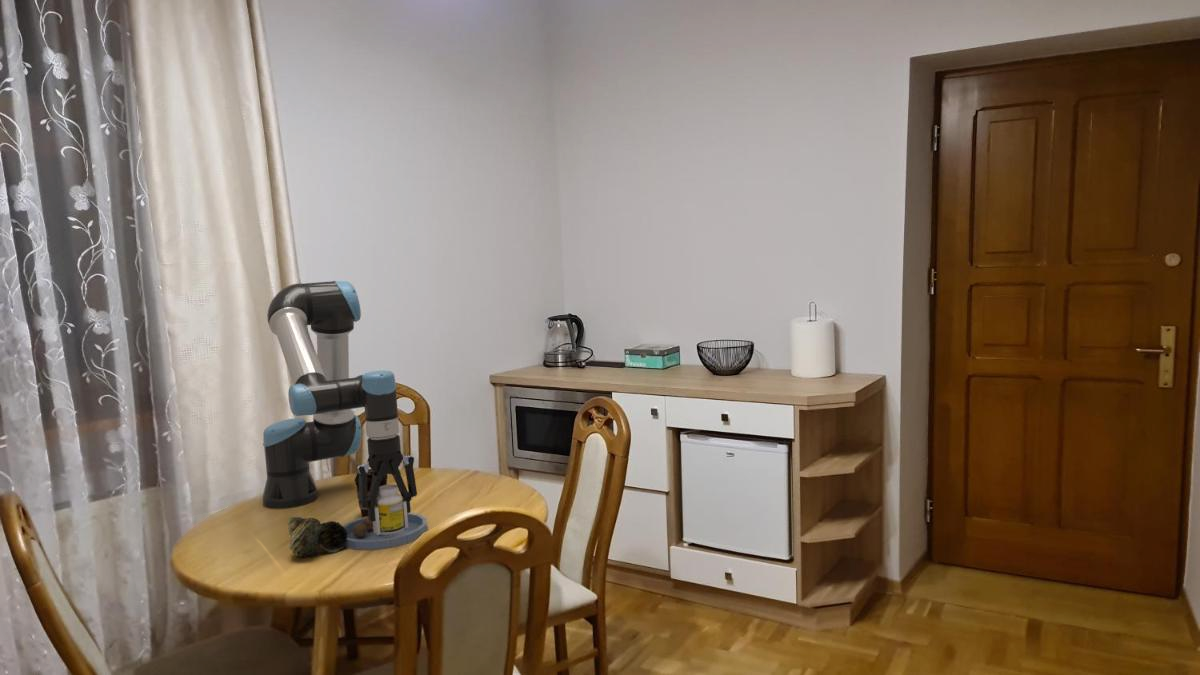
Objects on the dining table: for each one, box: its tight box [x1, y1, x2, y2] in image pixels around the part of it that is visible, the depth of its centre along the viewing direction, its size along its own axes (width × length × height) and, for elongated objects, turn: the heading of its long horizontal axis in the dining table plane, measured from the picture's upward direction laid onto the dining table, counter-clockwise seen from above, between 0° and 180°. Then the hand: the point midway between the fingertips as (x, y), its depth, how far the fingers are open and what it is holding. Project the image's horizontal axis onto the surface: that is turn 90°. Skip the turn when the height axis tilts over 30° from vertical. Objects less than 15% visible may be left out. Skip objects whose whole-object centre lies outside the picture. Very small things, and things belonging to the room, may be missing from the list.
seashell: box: [287, 516, 347, 558], centre depth 185 cm, size 11×11×10 cm
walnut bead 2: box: [362, 517, 373, 531], centre depth 200 cm, size 4×4×4 cm
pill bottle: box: [376, 484, 404, 536], centre depth 191 cm, size 6×6×11 cm
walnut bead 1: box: [353, 523, 367, 538], centre depth 195 cm, size 4×4×4 cm
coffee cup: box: [354, 468, 389, 518], centre depth 211 cm, size 9×8×13 cm
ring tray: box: [343, 512, 428, 551], centre depth 197 cm, size 21×21×3 cm
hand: (391, 529), depth 192 cm, fingers closed on pill bottle, 6 cm apart
